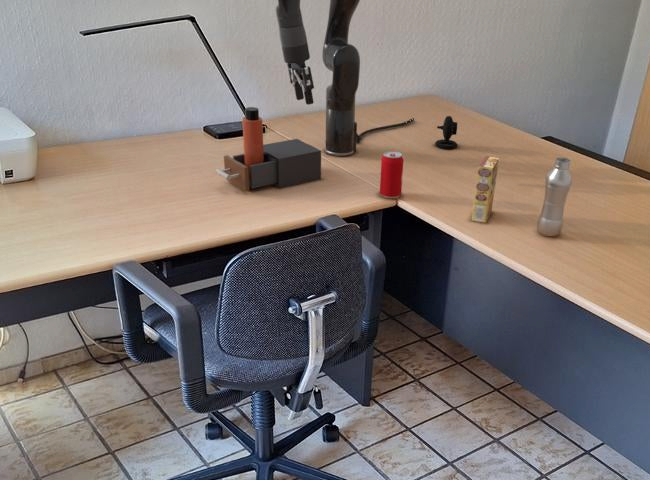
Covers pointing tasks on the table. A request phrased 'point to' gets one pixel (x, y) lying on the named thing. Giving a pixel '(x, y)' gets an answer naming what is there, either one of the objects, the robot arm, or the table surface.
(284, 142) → the desk cabinet
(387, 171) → the beverage can
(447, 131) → the webcam
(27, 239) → the table surface
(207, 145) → the table surface
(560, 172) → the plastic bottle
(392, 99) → the table surface
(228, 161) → the drawer
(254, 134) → the flask
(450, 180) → the table surface
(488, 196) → the candy box
